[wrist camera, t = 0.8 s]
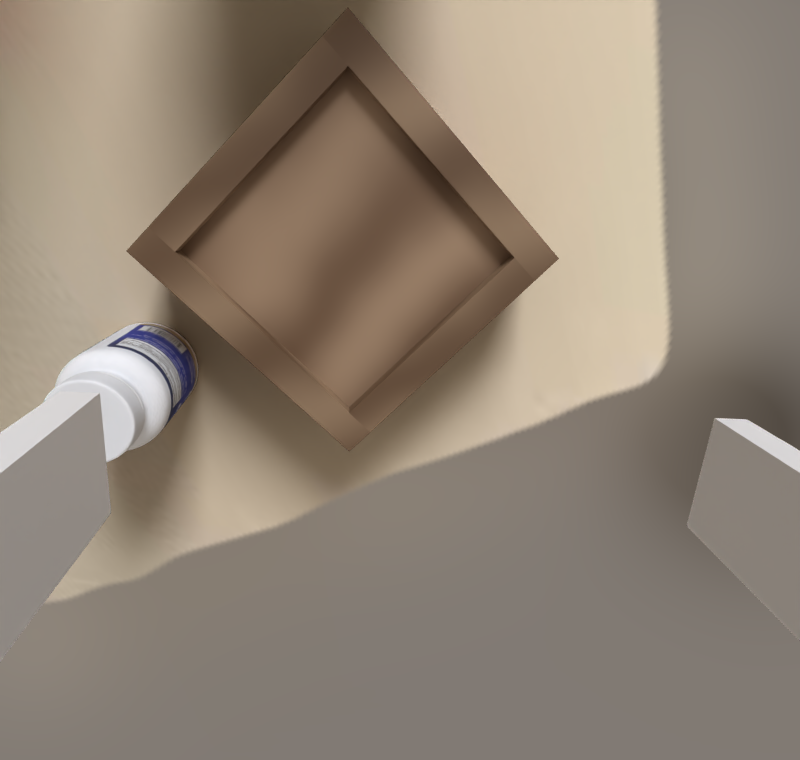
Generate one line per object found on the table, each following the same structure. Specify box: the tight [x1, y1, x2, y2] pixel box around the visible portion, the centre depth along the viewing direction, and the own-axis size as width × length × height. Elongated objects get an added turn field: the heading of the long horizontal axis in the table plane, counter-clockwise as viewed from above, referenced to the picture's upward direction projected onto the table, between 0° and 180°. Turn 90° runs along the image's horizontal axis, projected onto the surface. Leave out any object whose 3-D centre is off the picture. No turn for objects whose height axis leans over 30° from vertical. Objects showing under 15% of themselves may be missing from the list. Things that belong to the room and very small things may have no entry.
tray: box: [127, 8, 559, 451], centre depth 29 cm, size 14×14×6 cm
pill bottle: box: [43, 323, 198, 462], centre depth 29 cm, size 5×5×9 cm
